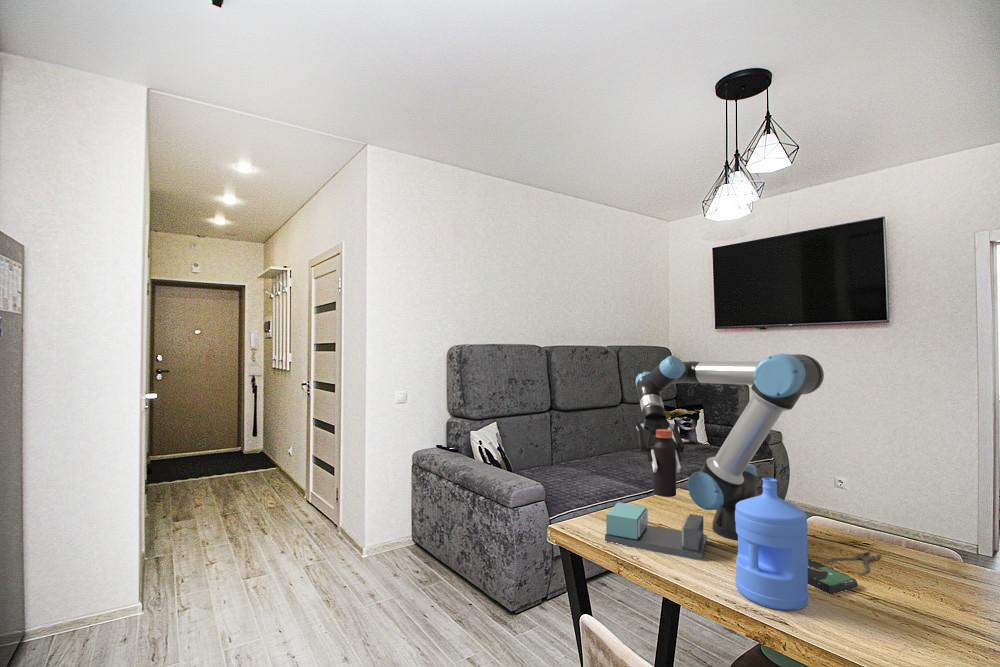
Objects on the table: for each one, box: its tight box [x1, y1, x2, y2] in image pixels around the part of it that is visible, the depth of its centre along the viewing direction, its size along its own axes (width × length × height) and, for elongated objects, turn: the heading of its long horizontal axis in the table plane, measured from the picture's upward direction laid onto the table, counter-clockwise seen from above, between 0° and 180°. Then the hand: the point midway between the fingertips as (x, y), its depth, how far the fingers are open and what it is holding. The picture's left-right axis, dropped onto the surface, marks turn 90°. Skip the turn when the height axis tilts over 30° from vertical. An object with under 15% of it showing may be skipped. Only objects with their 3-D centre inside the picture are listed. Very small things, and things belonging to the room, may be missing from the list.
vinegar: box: [652, 428, 677, 498], centre depth 155 cm, size 7×7×20 cm
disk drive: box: [808, 558, 858, 595], centre depth 129 cm, size 10×3×15 cm
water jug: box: [735, 477, 810, 611], centre depth 121 cm, size 16×16×28 cm
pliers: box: [824, 550, 881, 576], centre depth 141 cm, size 10×1×20 cm
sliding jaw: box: [605, 501, 649, 539], centre depth 158 cm, size 10×14×6 cm
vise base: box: [604, 513, 708, 561], centre depth 153 cm, size 28×16×8 cm, turn 62°
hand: (667, 469), depth 152 cm, fingers closed on vinegar, 6 cm apart
